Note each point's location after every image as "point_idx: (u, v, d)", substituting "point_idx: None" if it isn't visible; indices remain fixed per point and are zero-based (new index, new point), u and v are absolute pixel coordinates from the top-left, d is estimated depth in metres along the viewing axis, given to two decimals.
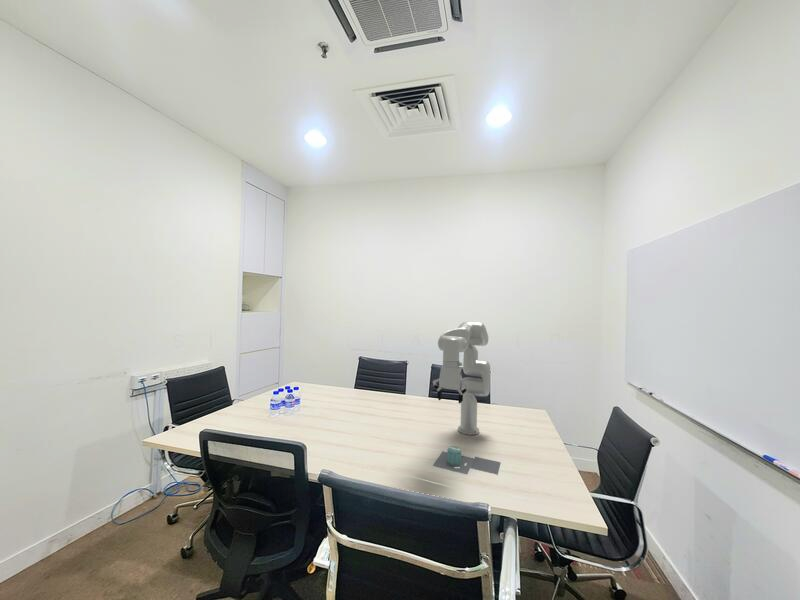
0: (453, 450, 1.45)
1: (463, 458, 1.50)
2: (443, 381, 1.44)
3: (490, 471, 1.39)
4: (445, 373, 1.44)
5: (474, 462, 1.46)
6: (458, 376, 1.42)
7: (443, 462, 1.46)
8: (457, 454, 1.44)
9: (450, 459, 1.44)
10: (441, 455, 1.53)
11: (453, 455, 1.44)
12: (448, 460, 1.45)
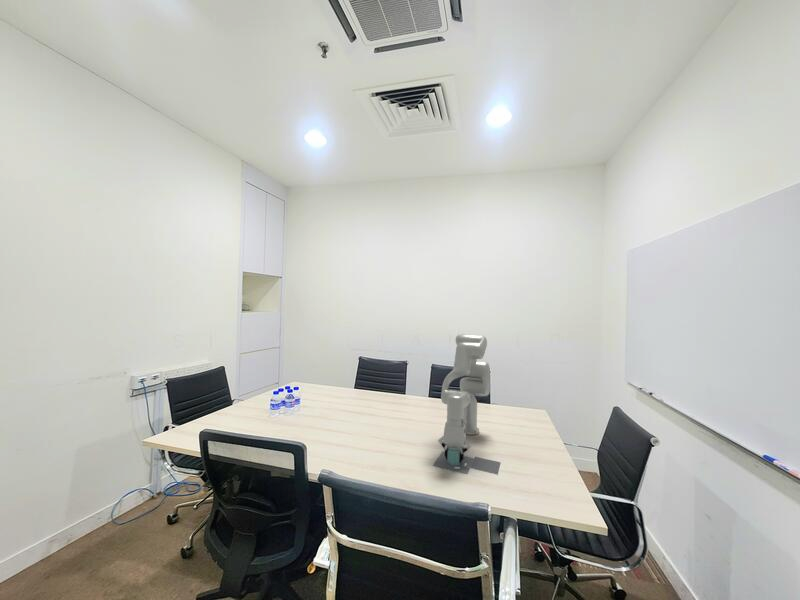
0: (453, 450, 1.45)
1: None
2: (447, 438, 1.46)
3: (490, 471, 1.39)
4: (449, 431, 1.45)
5: (474, 462, 1.46)
6: (462, 434, 1.43)
7: (443, 462, 1.46)
8: (457, 454, 1.44)
9: (450, 459, 1.44)
10: (441, 455, 1.53)
11: (453, 455, 1.44)
12: (448, 460, 1.45)
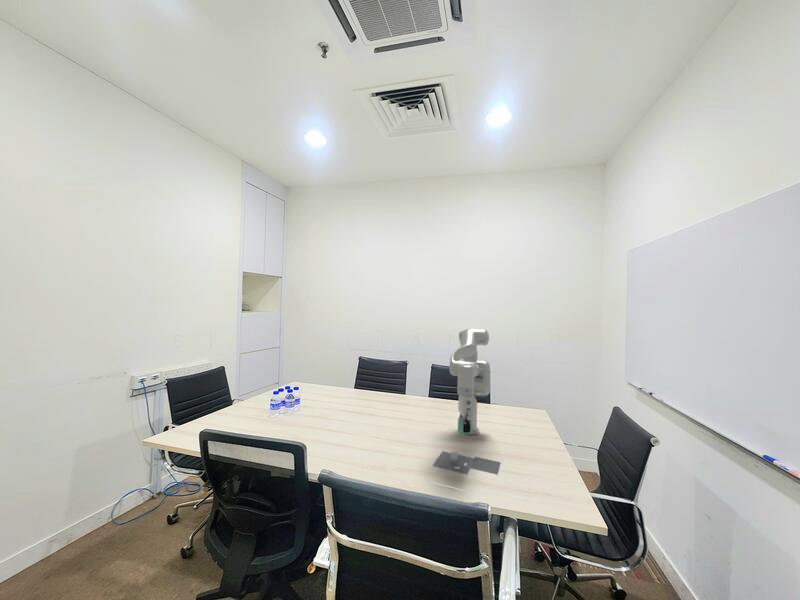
0: (461, 418, 1.46)
1: (463, 458, 1.50)
2: (458, 405, 1.49)
3: (490, 471, 1.39)
4: (459, 398, 1.48)
5: (474, 462, 1.46)
6: (463, 404, 1.42)
7: (443, 462, 1.46)
8: (461, 422, 1.44)
9: (458, 426, 1.47)
10: (441, 455, 1.53)
11: (458, 422, 1.46)
12: None
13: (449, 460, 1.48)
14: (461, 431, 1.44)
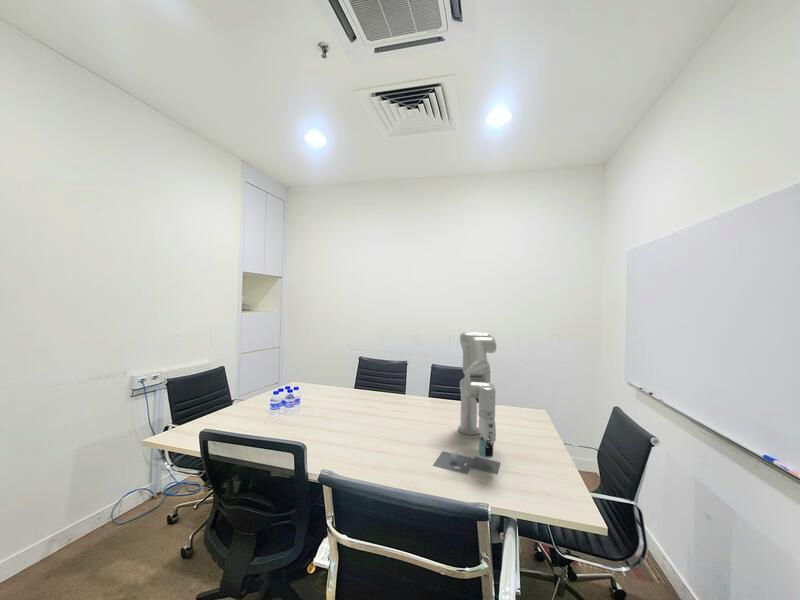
0: (483, 441, 1.44)
1: (463, 458, 1.50)
2: (479, 428, 1.47)
3: (490, 471, 1.39)
4: (480, 420, 1.46)
5: (474, 462, 1.46)
6: (485, 427, 1.40)
7: (443, 462, 1.46)
8: (483, 446, 1.42)
9: (479, 449, 1.45)
10: (441, 455, 1.53)
11: (480, 445, 1.44)
12: None
13: (449, 460, 1.48)
14: (483, 455, 1.42)
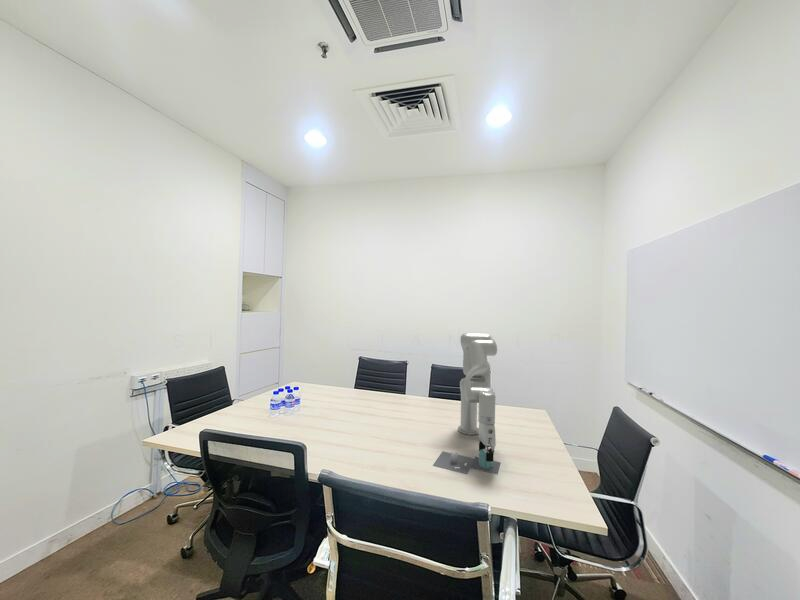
0: (482, 452, 1.44)
1: (463, 458, 1.50)
2: (479, 433, 1.47)
3: (490, 471, 1.39)
4: (480, 426, 1.46)
5: (474, 462, 1.46)
6: (485, 432, 1.40)
7: (443, 462, 1.46)
8: (483, 456, 1.42)
9: None
10: (441, 455, 1.53)
11: (479, 456, 1.44)
12: None
13: (449, 460, 1.48)
14: (482, 465, 1.42)
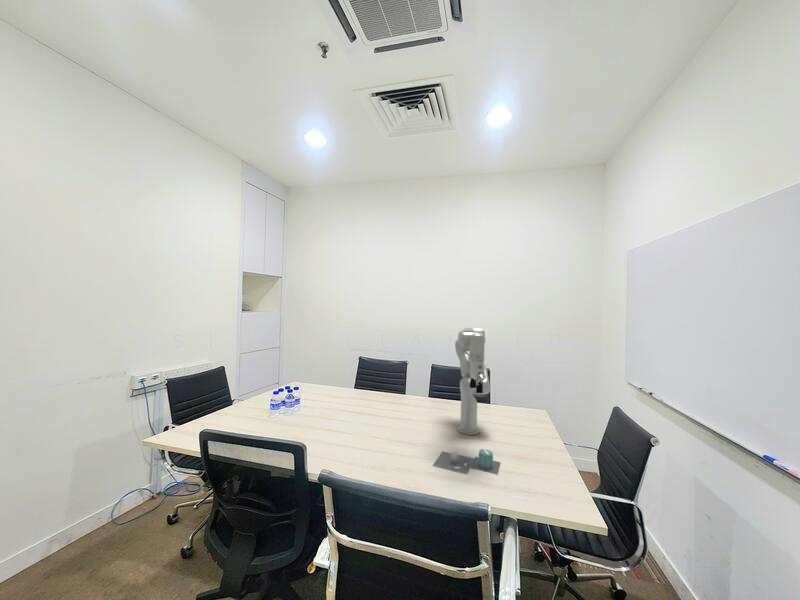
0: (482, 452, 1.44)
1: (463, 458, 1.50)
2: (470, 371, 1.65)
3: (490, 471, 1.39)
4: (471, 364, 1.65)
5: (474, 462, 1.46)
6: (475, 368, 1.59)
7: (443, 462, 1.46)
8: (483, 456, 1.42)
9: None
10: (441, 455, 1.53)
11: (479, 456, 1.44)
12: None
13: (449, 460, 1.48)
14: (482, 465, 1.42)
